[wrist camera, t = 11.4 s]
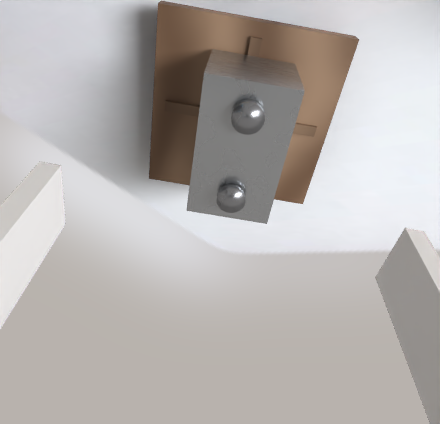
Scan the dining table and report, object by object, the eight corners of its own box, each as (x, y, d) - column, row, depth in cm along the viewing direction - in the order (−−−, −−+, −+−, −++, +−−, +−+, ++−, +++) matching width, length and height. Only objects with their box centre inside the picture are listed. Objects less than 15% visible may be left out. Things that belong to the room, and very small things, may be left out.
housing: (212, 49, 27) (202, 77, 22) (295, 63, 27) (306, 95, 22) (196, 170, 33) (185, 217, 27) (264, 181, 33) (267, 230, 28)
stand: (155, 162, 37) (148, 180, 34) (166, -3, 28) (157, 3, 26) (299, 186, 37) (303, 205, 34) (349, 31, 29) (360, 40, 26)
